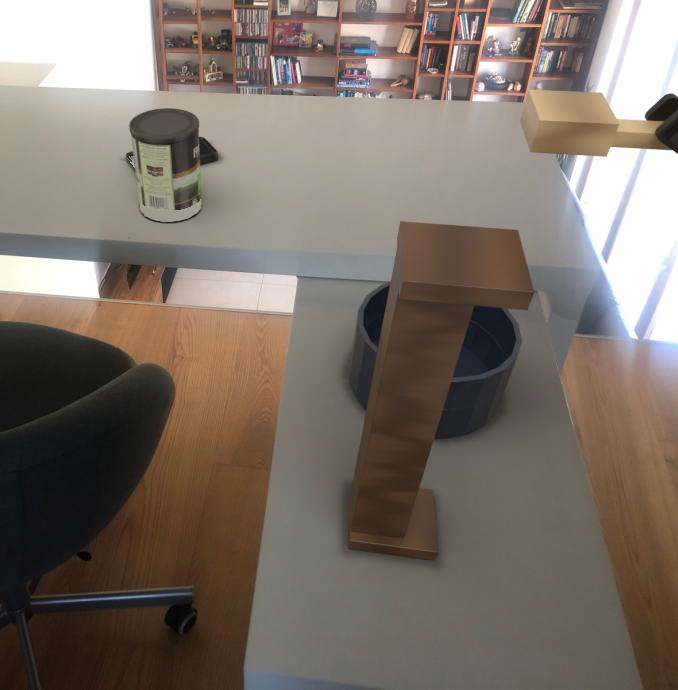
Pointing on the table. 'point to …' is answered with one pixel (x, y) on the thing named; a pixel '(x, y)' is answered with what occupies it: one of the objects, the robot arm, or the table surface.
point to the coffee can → (166, 158)
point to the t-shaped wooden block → (581, 125)
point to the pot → (471, 369)
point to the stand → (423, 372)
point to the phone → (206, 152)
